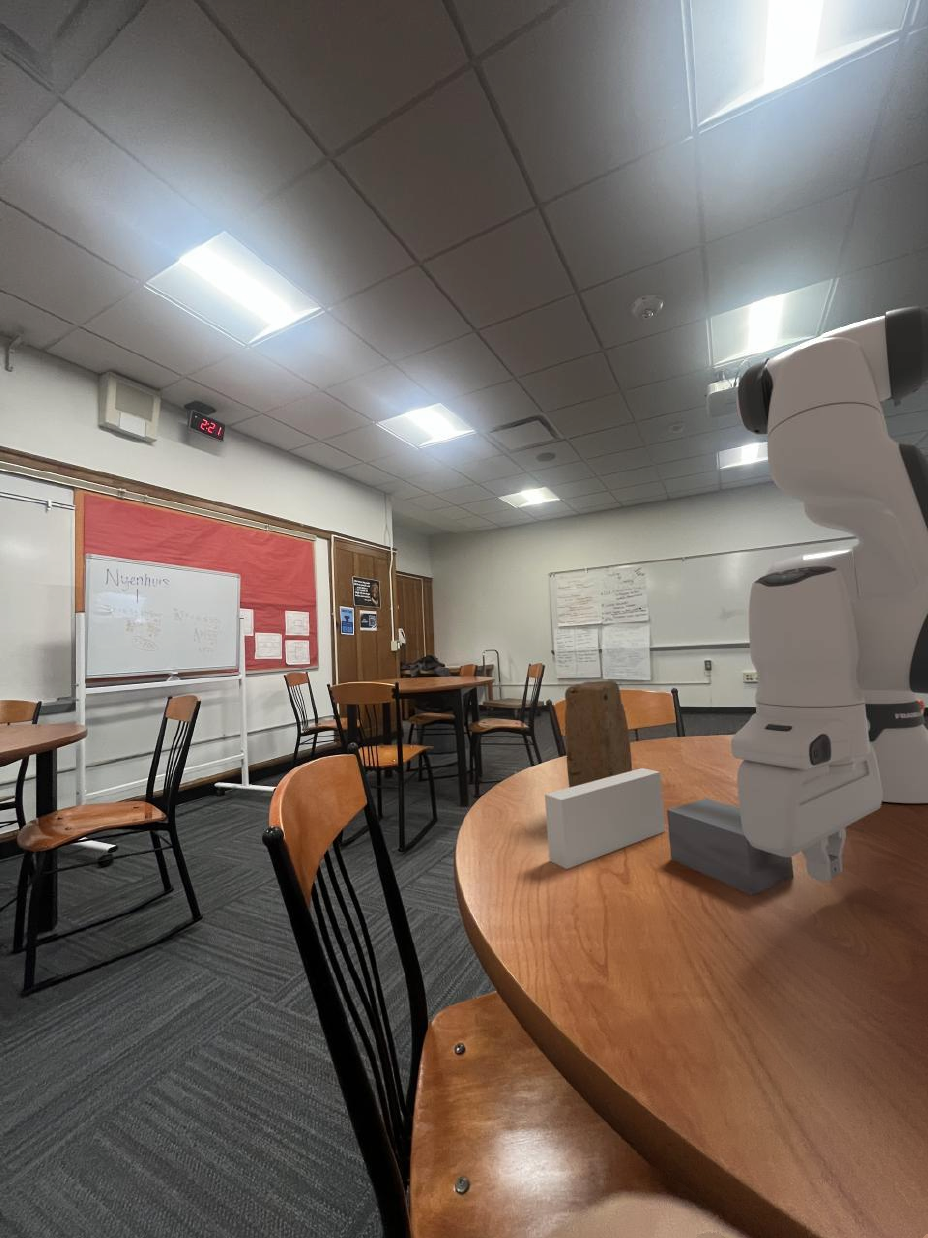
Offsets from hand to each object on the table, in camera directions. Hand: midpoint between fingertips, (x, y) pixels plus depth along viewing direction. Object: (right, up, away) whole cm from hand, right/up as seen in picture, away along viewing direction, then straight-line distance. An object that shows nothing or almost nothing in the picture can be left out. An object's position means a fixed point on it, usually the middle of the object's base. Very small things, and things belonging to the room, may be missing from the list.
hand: (825, 875), depth 47 cm
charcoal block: (-5, -4, +8) cm, 10 cm away
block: (-13, -5, +30) cm, 33 cm away
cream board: (-16, -5, +16) cm, 23 cm away
